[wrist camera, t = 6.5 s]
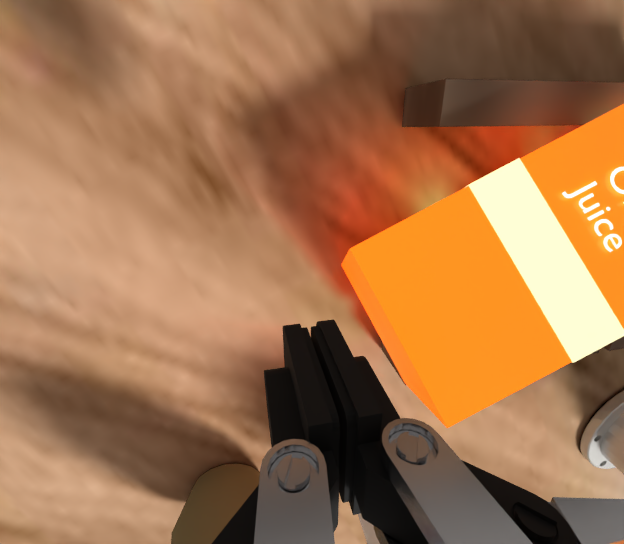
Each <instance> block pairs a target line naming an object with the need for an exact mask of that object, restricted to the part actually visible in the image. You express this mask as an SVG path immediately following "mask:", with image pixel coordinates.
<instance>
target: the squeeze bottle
mask: <svg viewBox="0 0 624 544" xmlns="http://www.w3.org/2000/svg"><path fill="white" fill-rule="evenodd" d="M259 478H260V472H259V471H257V470H256V469H254V468H253V467H251V466H248V465H243V464H225V465H221V466H219V467H216V468H213V469H210V470H209V471H207V472H206V473H205V474H203V475H202V476H200V477H199V478H198V480H197V482H196V483H195V485H194V486H193V488H192V490H191V493H190V495H189V497H188V499H187V501H186V503H185V505H184V508H183V510H182V512H181V514H180V516H179V518H178V521H177V523H176V525H175V527H174V529H173V531H172V539H171V544H212V542H213V541H214V540H215V539H216V537H217V536H218V535H219V534H220V532H221V531H222V530H223V529H224V527H225V526H226V525H227V524H228V522H229V521H230V520H231V519H232V517H233V516H234V515H235V514H236V512H237V511H238V510H239V509H240V507H241V506H242V505H243V504H244V502H245V501H246V500H247V499H248V497H249V496H250V495H251V494H252V492H253V491H254V490H255V489H256V487H257V486H258V485H259Z"/></svg>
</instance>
